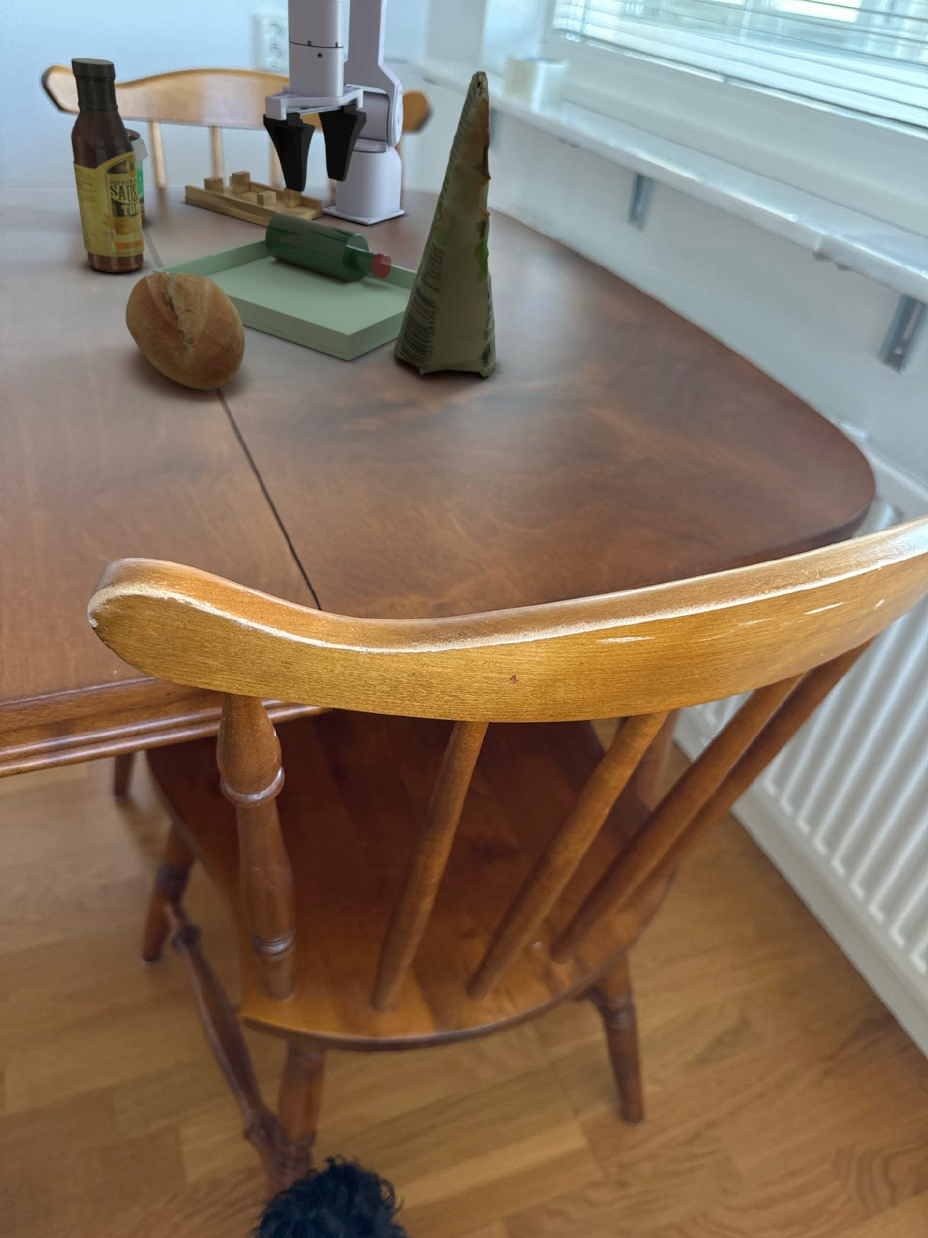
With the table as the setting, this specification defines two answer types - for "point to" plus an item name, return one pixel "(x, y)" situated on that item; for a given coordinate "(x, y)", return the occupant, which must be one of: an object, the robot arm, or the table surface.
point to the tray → (306, 299)
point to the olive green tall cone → (456, 259)
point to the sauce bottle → (105, 172)
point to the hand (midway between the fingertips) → (316, 184)
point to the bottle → (323, 248)
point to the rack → (251, 199)
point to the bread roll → (186, 328)
